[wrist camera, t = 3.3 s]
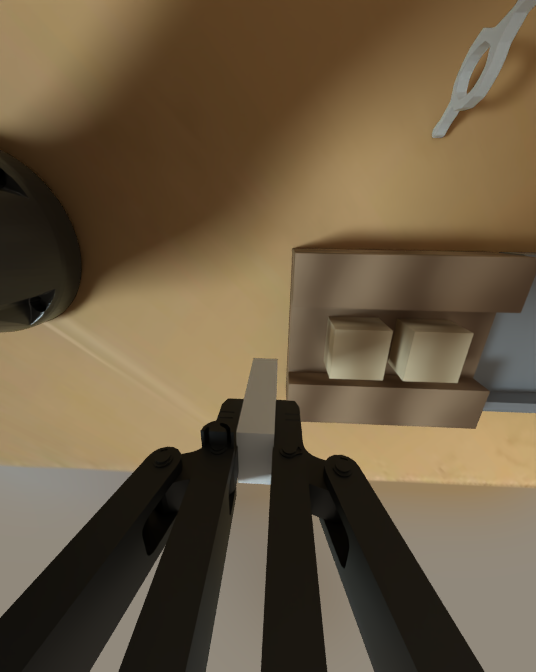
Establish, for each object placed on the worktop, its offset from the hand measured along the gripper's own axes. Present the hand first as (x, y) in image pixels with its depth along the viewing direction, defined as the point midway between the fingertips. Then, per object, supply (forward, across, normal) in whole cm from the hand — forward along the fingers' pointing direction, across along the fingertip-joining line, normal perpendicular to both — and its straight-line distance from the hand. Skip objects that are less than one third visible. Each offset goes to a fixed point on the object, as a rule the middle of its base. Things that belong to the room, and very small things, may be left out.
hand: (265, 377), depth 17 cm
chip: (+6, +12, 0) cm, 14 cm away
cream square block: (+6, +7, 0) cm, 9 cm away
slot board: (+9, +10, 0) cm, 13 cm away
